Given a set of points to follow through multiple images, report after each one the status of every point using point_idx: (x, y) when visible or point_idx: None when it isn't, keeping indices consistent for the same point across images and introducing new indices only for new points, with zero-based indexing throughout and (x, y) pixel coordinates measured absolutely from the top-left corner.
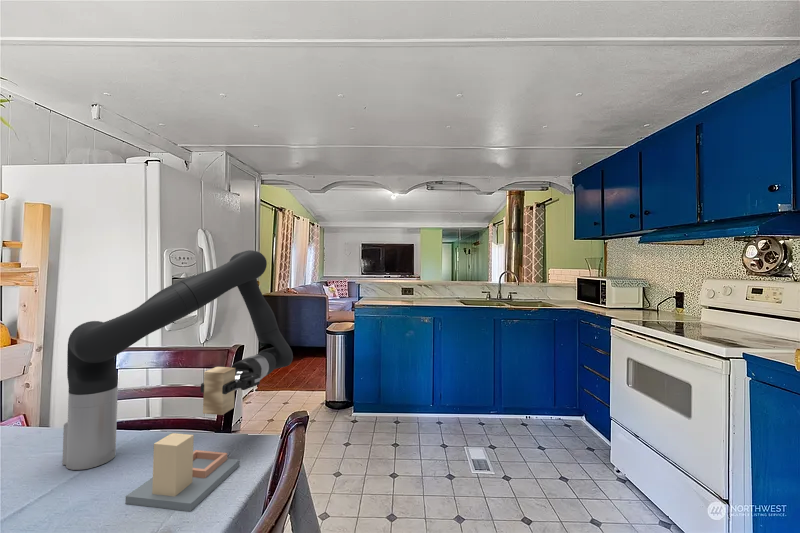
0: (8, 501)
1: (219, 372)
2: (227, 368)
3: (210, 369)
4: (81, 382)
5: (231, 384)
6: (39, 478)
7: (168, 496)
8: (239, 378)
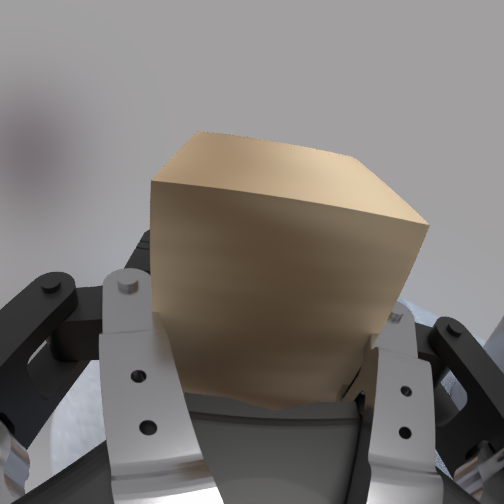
0: (437, 317)
1: (238, 137)
2: (245, 174)
3: (377, 178)
4: None
5: (148, 252)
6: None
7: None
8: (103, 317)
